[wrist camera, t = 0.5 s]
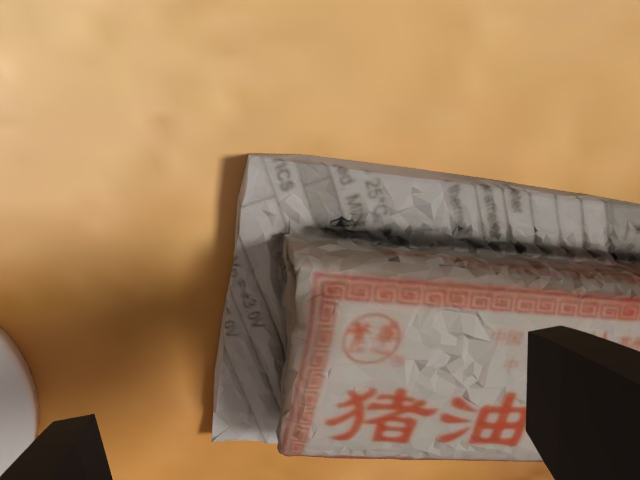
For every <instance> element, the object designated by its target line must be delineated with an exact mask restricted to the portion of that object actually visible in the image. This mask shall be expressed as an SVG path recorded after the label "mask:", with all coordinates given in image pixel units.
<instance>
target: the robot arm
mask: <svg viewBox="0 0 640 480" xmlns="http://www.w3.org/2000/svg"><path fill="white" fill-rule="evenodd" d="M526 432H527V434H528V436H529V437H530V439H531V441H532V442H533V444H534V446H535V448H536V449H537V451H538V453H539V455H540V456H541V458H542V460H543V461H544V463H545V464H546V466H547V468H548V469H549V471H550V472H551V474H552V476H553V477H554V479H555V480H640V351H637V350H635V349H632V348H629V347H626V346H624V345H621V344H618V343H615V342H613V341H610V340H607V339H604V338H601V337H598V336H595V335H592V334H589V333H586V332H583V331H580V330H577V329H573V328H569V327H566V326H561V325H560V326H555V327H549V328H544V329H539V330H534V331H528V351H527V392H526ZM0 480H113V479H112V476H111V472H110V468H109V465H108V461H107V457H106V454H105V450H104V447H103V443H102V439H101V436H100V432H99V429H98V425H97V421H96V418H95V414H91V415H86V416H81V417H76V418H70V419H65V420H60V421H54V422H53V423H52V424H50V425H49V426H48V427H47V428H46V429H45V430H44V431H43V432H42V433H41V434H40V435H39V436H38V437H37V438H36V439H35V440H34V441H33V442H32V443H31V444H30V445H29V446H28V448H27V449H26V450H25V451H24V452H23V453H22V454H21V455H20V456H19V457H18V458H17V459H16V460H15V461H14V462H13V463H12V464H11V465H10V467H9V468H8V469H7V470H6V471H5V472H4V473H3V474H2V475H1V476H0Z"/></svg>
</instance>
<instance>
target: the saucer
mask: <svg viewBox="0 0 640 480" xmlns="http://www.w3.org/2000/svg"><path fill="white" fill-rule="evenodd" d="M38 428H39V401H38V396H37V391H36V386H35V383H34V380H33V377H32V375H31V372H30V369H29V367H28V365H27V363H26V361H25V360H24V358H23V356H22V354H21V352H20V351H19V349H18V348H17V346H16V345H15V344H14V342H13V341H12V340H11V338H10V337H9V335H8V334H7V333H6V332H5V331H4V330H3V329H2V328H1V327H0V476H1V475H2V474H3V473H4V472H5V471H6V470H7V469H8V468H9V467H10V465H11V464H12V463H13V462H14V461H15V460H16V459H17V458H18V457H19V456H20V455H21V454H22V453H23V452H24V451H25V450H26V449H27V448H28V446H29V445H30V444H31V443H32V442H33V441H34V440H35V439H36V438H37V435H38Z"/></svg>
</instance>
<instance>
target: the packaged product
mask: <svg viewBox="0 0 640 480" xmlns="http://www.w3.org/2000/svg"><path fill="white" fill-rule="evenodd" d="M560 325H561V326H566V327H569V328H573V329H577V330H580V331H583V332H586V333H589V334H592V335H595V336H598V337H601V338H604V339H607V340H610V341H613V342H615V343H618V344H621V345H624V346H626V347H629V348H632V349H635V350H637V351H640V204H636V203H631V202H625V201H620V200H615V199H609V198H604V197H598V196H593V195H587V194H582V193H573V192H566V191H560V190H554V189H547V188H541V187H535V186H528V185H522V184H516V183H511V182H505V181H499V180H492V179H485V178H478V177H471V176H464V175H457V174H450V173H443V172H435V171H429V170H421V169H414V168H406V167H398V166H390V165H382V164H375V163H367V162H359V161H351V160H343V159H336V158H328V157H320V156H312V155H296V154H264V153H250V154H249V155H248V159H247V163H246V167H245V171H244V175H243V179H242V184H241V188H240V192H239V196H238V200H237V214H236V229H235V243H234V258H233V266H232V271H231V276H230V281H229V286H228V291H227V296H226V300H225V305H224V310H223V317H222V324H221V331H220V338H219V345H218V351H217V358H216V365H215V372H214V403H213V426H212V442H219V441H230V440H248V441H261V442H264V443H267V444H275V443H278V447H277V449H278V451H279V453H280V454H283V455H285V456H311V457H325V458H356V459H399V460H468V461H525V462H544V461H543V460H542V458H541V456H540V455H539V453H538V451H537V449H536V448H535V446H534V444H533V442H532V441H531V439H530V437H529V436H528V434H527V432H526V392H527V351H528V331H534V330H539V329H544V328H549V327H555V326H560Z"/></svg>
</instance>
